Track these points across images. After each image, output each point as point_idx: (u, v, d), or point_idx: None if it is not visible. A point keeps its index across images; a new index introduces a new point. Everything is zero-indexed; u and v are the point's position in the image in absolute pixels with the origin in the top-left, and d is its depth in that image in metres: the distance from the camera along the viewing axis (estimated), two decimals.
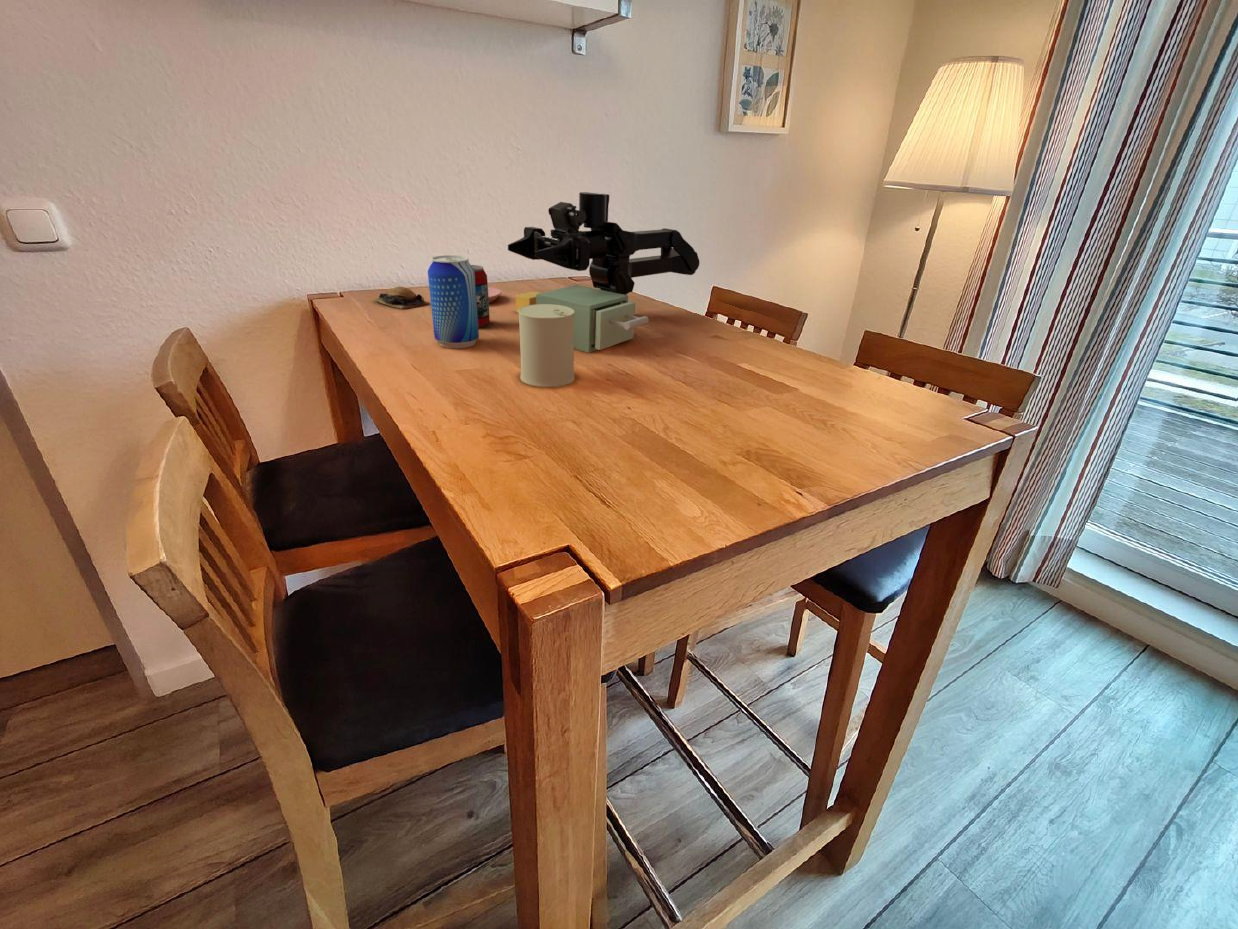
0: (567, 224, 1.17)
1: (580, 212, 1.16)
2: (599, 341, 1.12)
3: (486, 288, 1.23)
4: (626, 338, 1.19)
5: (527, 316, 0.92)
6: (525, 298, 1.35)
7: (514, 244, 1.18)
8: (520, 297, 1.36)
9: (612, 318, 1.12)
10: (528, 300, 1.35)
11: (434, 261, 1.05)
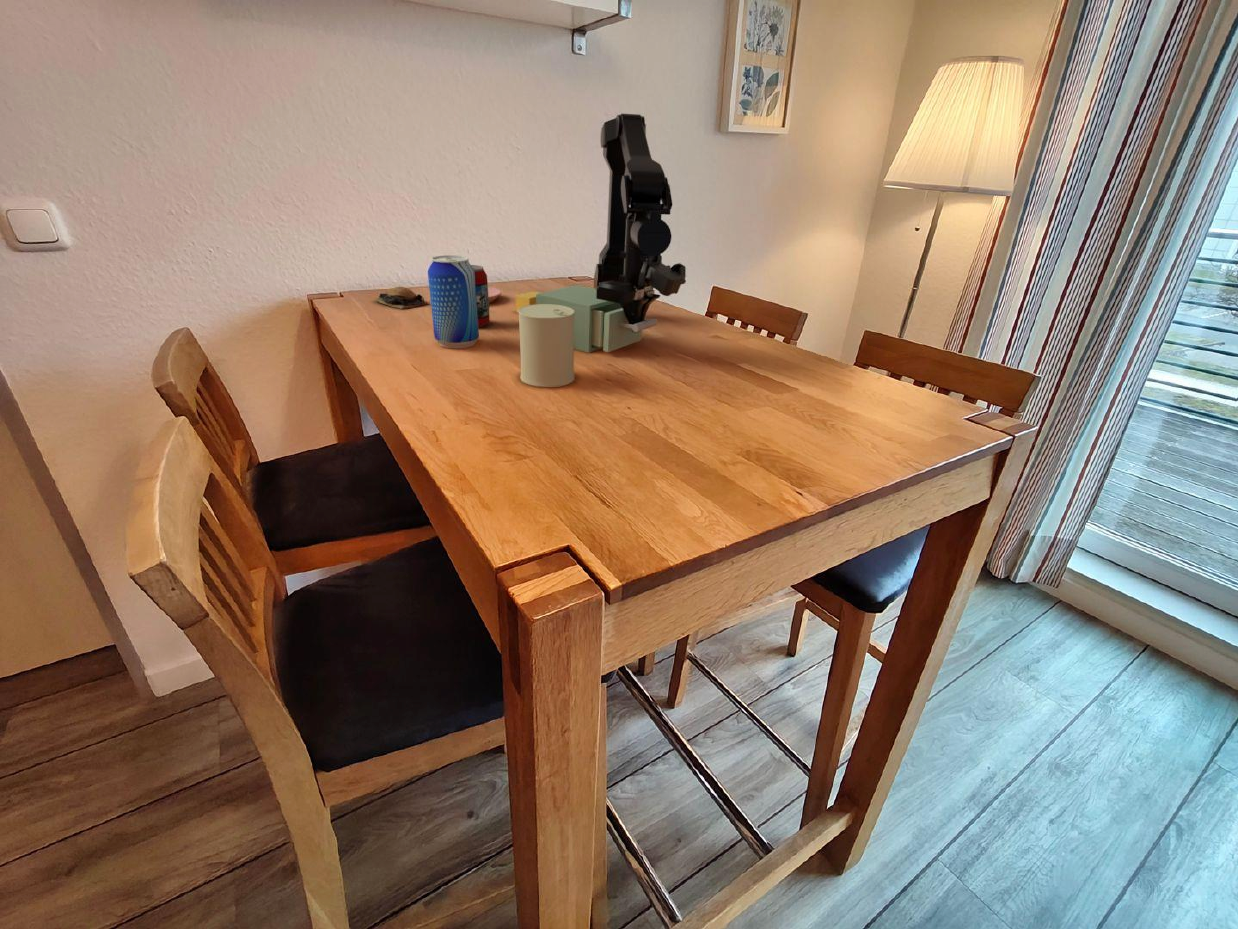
0: None
1: None
2: (607, 343, 1.11)
3: (486, 288, 1.23)
4: (634, 340, 1.18)
5: (527, 316, 0.92)
6: (525, 298, 1.35)
7: None
8: (520, 297, 1.36)
9: (620, 320, 1.11)
10: (528, 300, 1.35)
11: (434, 261, 1.05)
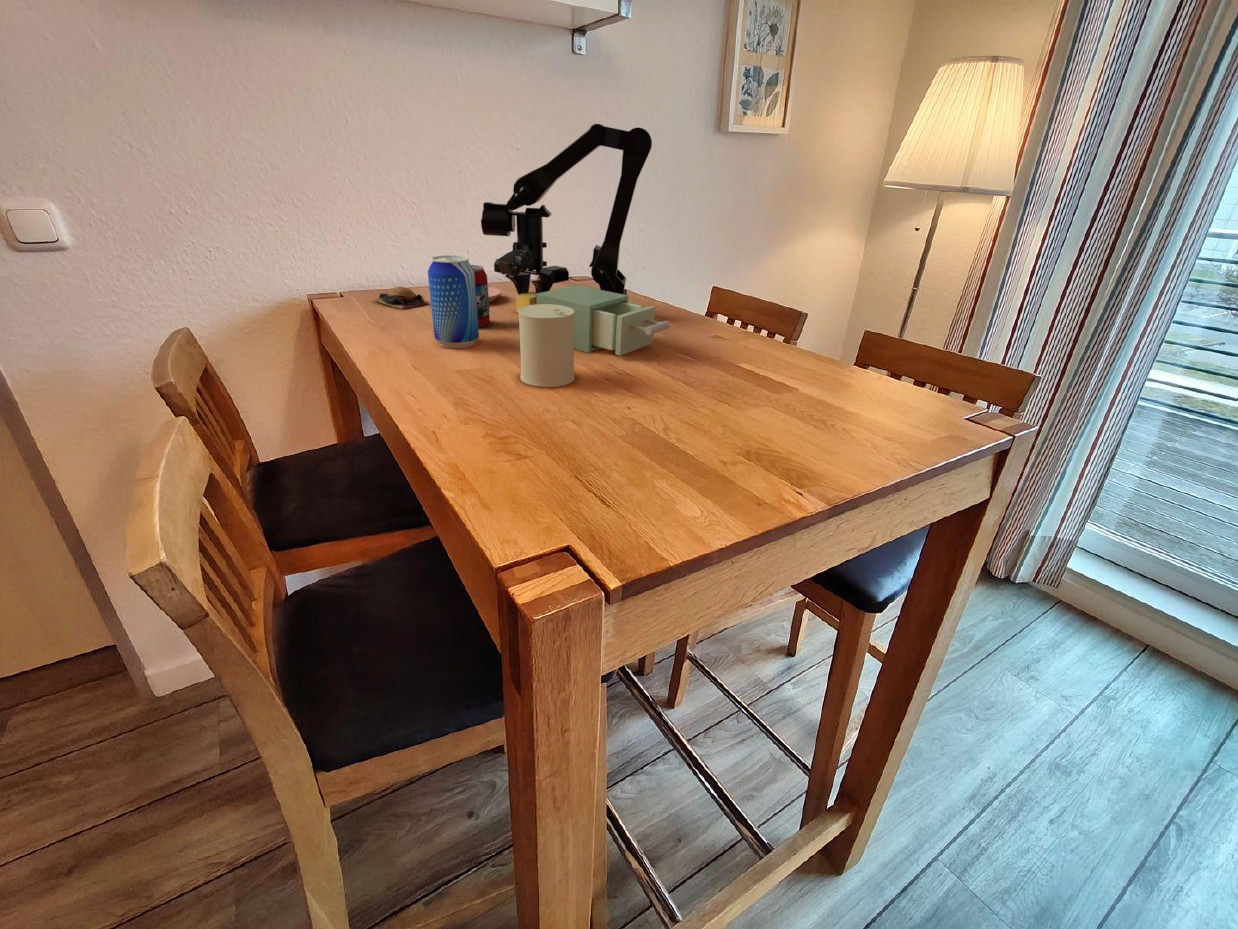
0: None
1: (522, 263, 1.26)
2: (620, 346, 1.09)
3: (486, 288, 1.23)
4: (646, 343, 1.16)
5: (527, 316, 0.92)
6: (525, 298, 1.35)
7: None
8: (520, 297, 1.36)
9: (633, 323, 1.10)
10: (528, 300, 1.35)
11: (434, 261, 1.05)
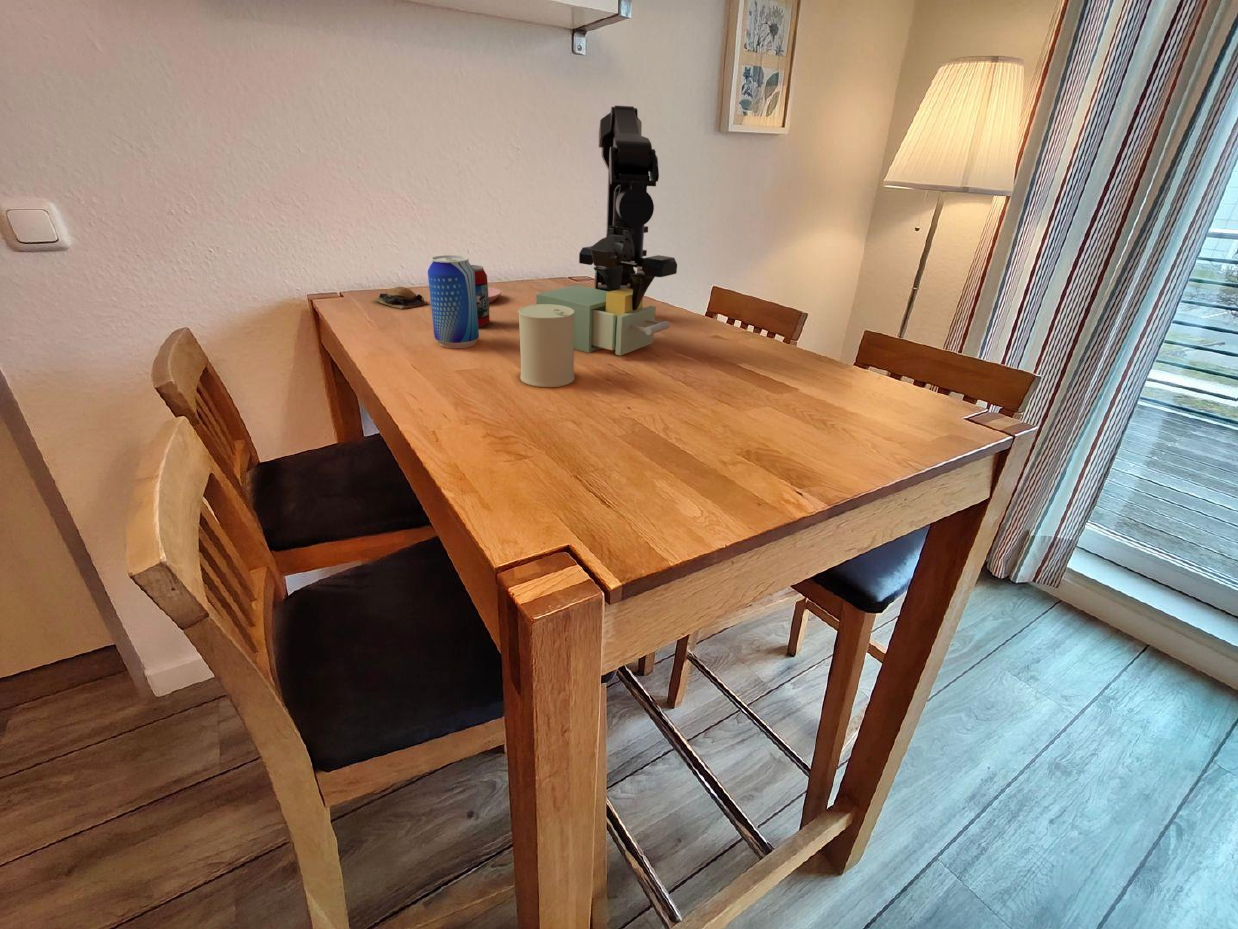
0: None
1: (624, 251, 1.00)
2: (620, 346, 1.09)
3: (486, 288, 1.23)
4: (646, 343, 1.16)
5: (527, 316, 0.92)
6: (619, 296, 1.08)
7: None
8: (613, 295, 1.09)
9: (633, 323, 1.10)
10: (623, 298, 1.08)
11: (434, 261, 1.05)
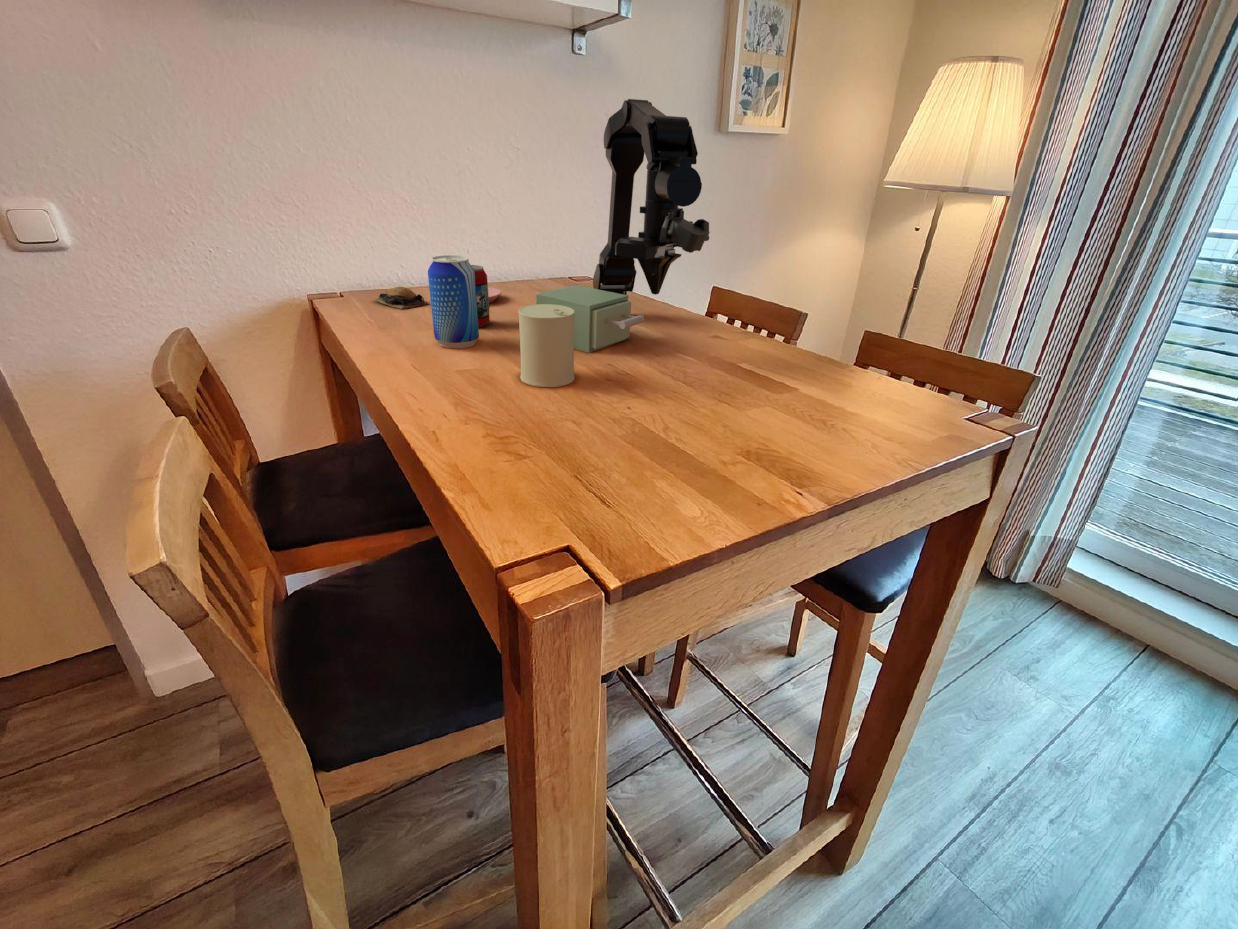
0: None
1: None
2: (595, 340, 1.12)
3: (486, 288, 1.23)
4: (622, 337, 1.19)
5: (527, 316, 0.92)
6: None
7: None
8: None
9: (608, 317, 1.13)
10: None
11: (434, 261, 1.05)
